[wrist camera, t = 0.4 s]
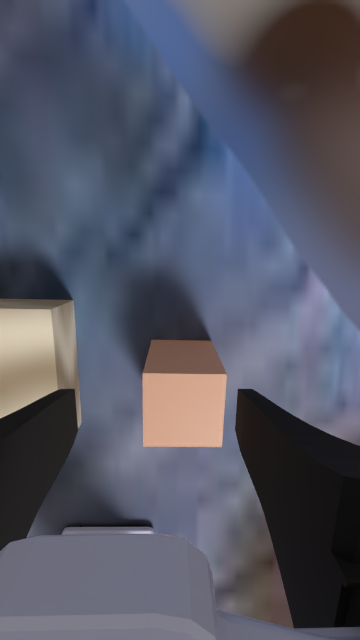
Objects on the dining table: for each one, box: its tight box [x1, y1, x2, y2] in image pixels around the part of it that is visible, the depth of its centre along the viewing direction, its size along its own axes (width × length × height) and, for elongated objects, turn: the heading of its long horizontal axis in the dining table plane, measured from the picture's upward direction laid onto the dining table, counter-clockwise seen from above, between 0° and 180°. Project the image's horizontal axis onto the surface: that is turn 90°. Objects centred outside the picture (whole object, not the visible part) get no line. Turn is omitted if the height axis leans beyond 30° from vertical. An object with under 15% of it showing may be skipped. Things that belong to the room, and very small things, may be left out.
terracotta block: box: [143, 340, 227, 447], centre depth 18 cm, size 4×4×6 cm
